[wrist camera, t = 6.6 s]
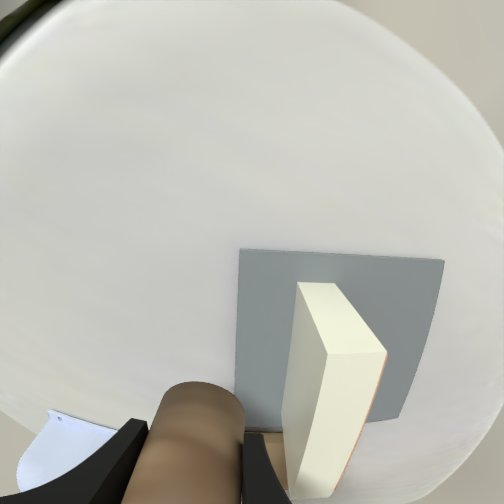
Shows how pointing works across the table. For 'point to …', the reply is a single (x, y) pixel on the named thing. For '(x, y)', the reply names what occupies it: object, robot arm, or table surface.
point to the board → (277, 455)
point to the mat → (361, 298)
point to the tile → (326, 388)
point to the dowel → (191, 449)
